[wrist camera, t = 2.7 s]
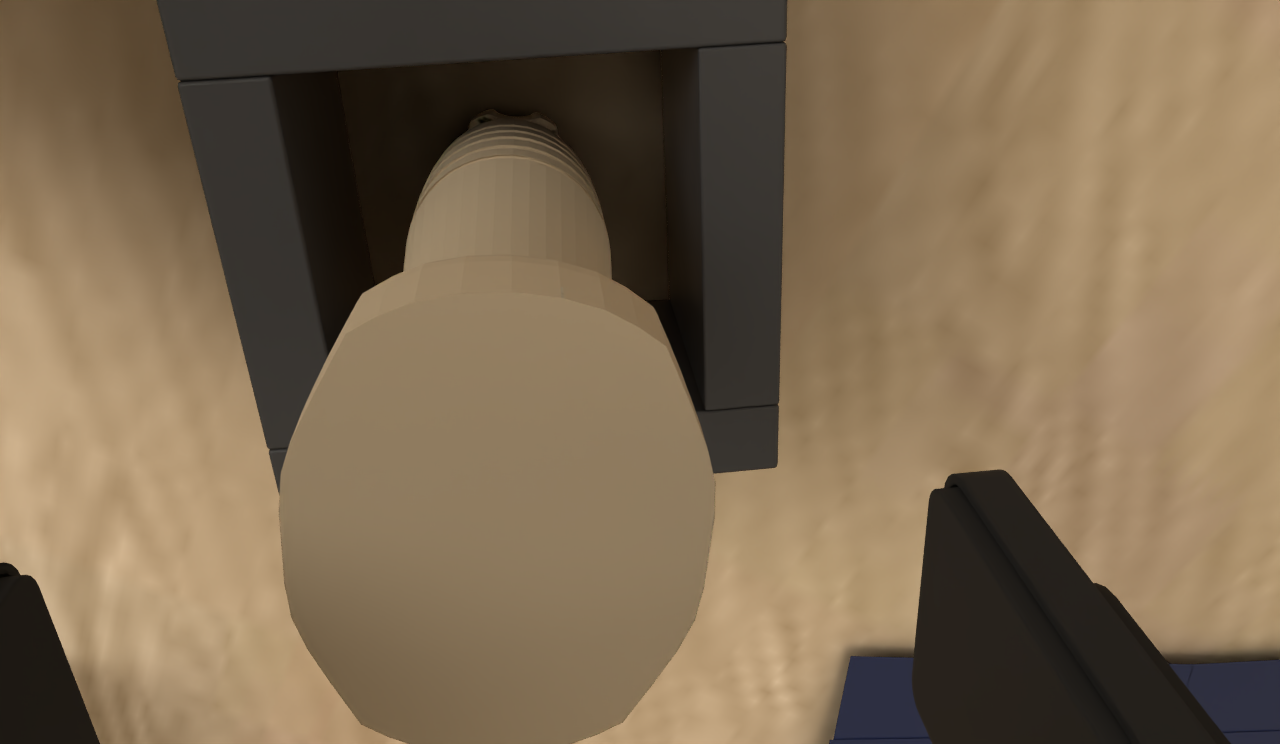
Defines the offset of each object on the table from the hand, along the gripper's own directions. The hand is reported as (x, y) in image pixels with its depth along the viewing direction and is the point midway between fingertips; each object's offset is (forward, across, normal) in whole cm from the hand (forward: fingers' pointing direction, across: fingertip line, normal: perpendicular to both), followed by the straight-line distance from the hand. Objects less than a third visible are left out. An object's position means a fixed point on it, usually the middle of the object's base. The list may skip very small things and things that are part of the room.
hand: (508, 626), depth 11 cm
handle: (+16, 0, 0) cm, 16 cm away
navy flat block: (+17, -19, +32) cm, 41 cm away
